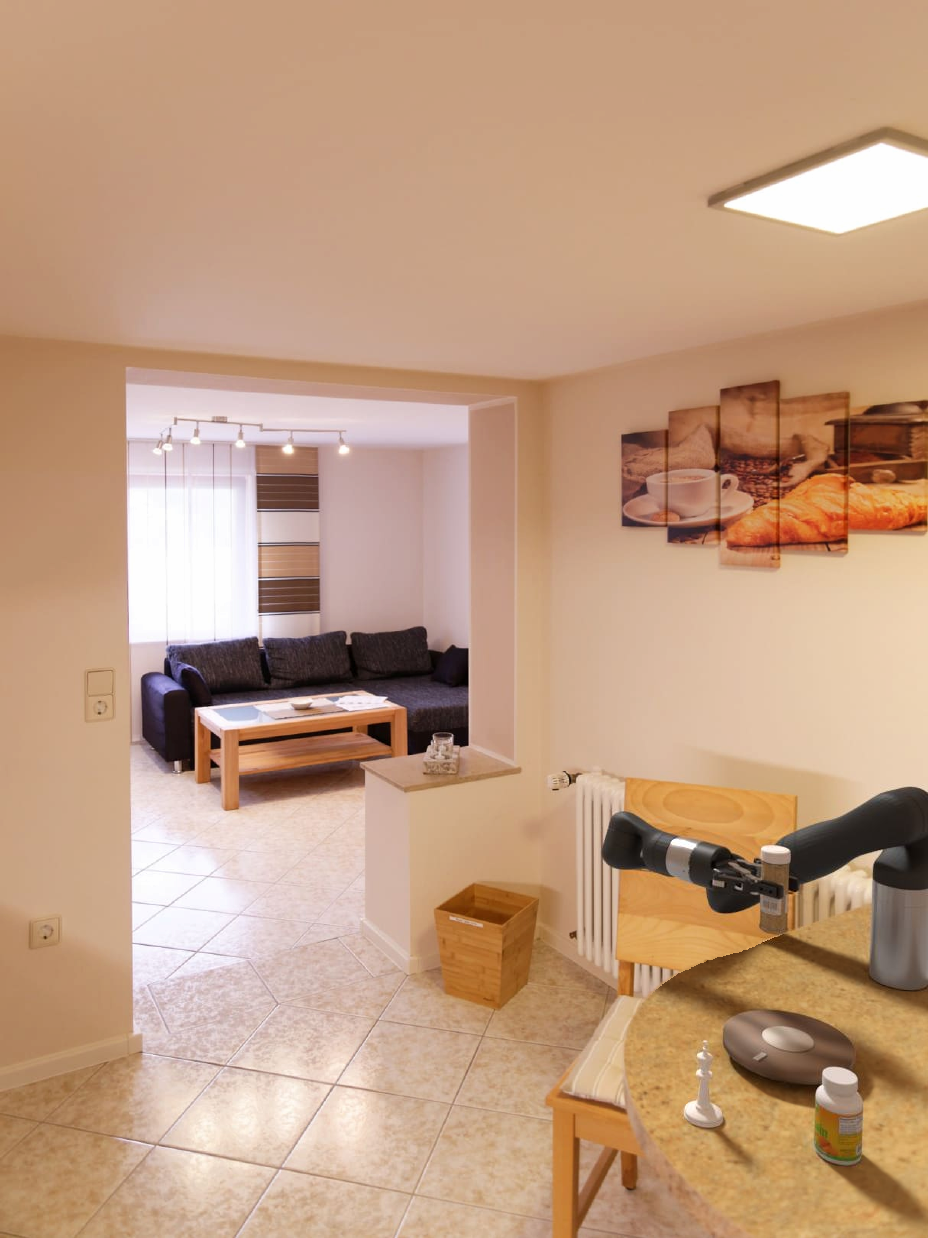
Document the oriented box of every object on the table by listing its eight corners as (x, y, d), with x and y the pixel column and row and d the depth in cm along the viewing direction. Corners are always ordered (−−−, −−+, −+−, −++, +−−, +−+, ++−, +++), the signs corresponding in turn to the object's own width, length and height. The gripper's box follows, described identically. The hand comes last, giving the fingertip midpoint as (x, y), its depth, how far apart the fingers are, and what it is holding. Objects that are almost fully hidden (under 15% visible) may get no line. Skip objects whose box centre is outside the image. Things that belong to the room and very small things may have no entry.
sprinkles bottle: (793, 932, 150) (796, 850, 149) (775, 938, 147) (778, 854, 146) (770, 922, 154) (773, 842, 153) (752, 928, 151) (754, 847, 150)
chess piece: (724, 1110, 122) (726, 1035, 121) (721, 1131, 117) (723, 1054, 116) (685, 1102, 123) (687, 1029, 123) (681, 1123, 119) (683, 1047, 118)
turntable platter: (764, 1008, 147) (764, 997, 146) (877, 1053, 133) (878, 1041, 133) (697, 1046, 135) (698, 1035, 135) (815, 1100, 121) (815, 1088, 121)
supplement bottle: (805, 1140, 115) (808, 1064, 115) (847, 1138, 116) (850, 1062, 115) (826, 1168, 110) (829, 1088, 109) (870, 1166, 110) (872, 1087, 110)
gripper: (722, 875, 166) (812, 902, 153) (673, 893, 156) (765, 923, 143) (723, 833, 165) (813, 857, 152) (674, 849, 156) (767, 876, 143)
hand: (789, 889), depth 148 cm, fingers closed on sprinkles bottle, 4 cm apart
